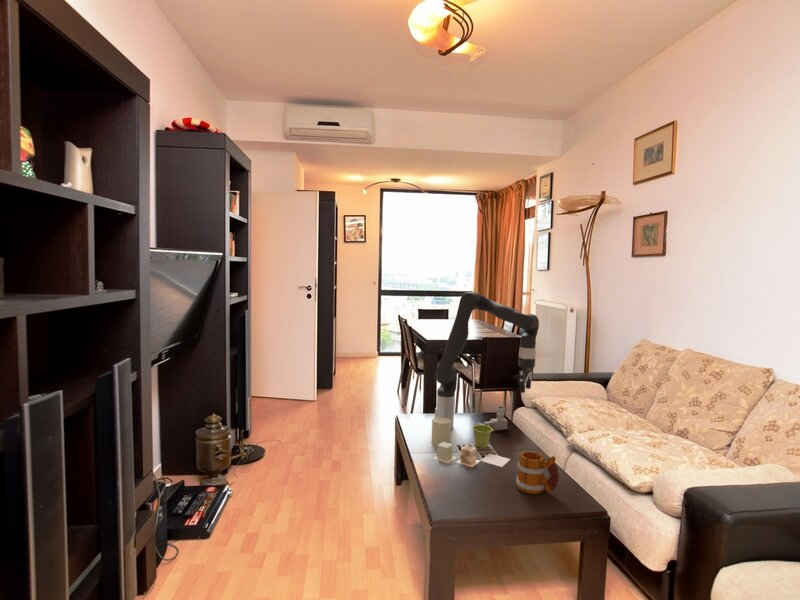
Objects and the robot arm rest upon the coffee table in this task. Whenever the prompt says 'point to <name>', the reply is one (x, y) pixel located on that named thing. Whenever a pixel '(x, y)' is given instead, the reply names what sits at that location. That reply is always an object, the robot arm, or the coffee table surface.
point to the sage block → (444, 451)
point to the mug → (536, 473)
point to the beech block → (468, 454)
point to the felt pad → (495, 460)
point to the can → (440, 430)
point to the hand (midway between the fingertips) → (525, 390)
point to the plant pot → (482, 435)
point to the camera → (497, 420)
